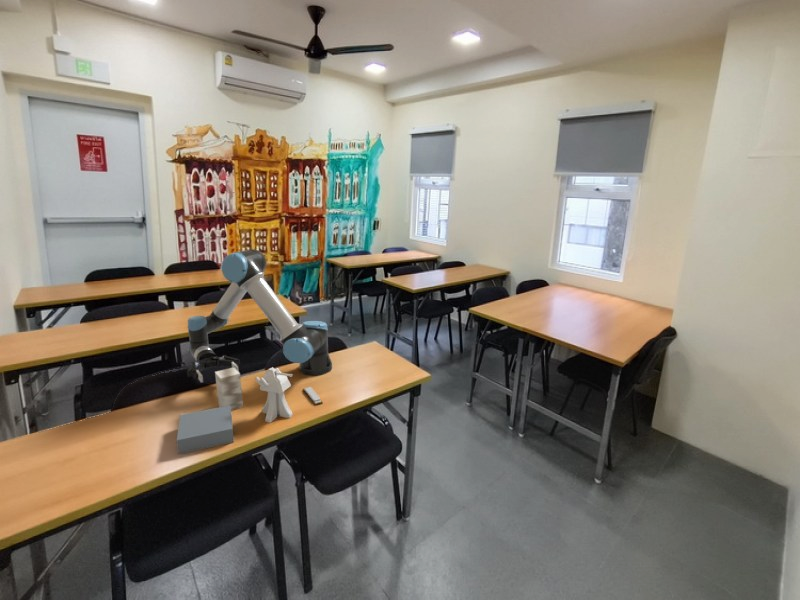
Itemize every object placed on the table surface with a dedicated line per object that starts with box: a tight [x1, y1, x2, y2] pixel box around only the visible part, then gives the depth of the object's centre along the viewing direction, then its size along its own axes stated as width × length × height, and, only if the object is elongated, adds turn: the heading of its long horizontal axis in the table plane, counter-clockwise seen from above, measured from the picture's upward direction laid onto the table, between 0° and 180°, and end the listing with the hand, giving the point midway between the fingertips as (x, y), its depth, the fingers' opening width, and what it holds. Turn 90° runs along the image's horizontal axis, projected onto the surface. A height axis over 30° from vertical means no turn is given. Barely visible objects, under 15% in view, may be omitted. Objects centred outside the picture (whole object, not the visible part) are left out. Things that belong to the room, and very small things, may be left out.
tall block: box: [214, 367, 244, 411], centre depth 149 cm, size 7×7×14 cm
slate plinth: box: [176, 405, 235, 455], centre depth 132 cm, size 16×16×5 cm
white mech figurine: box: [254, 366, 294, 423], centre depth 144 cm, size 12×13×18 cm
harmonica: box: [302, 386, 323, 406], centre depth 159 cm, size 15×3×2 cm, turn 33°
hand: (220, 374), depth 156 cm, fingers open, 13 cm apart
